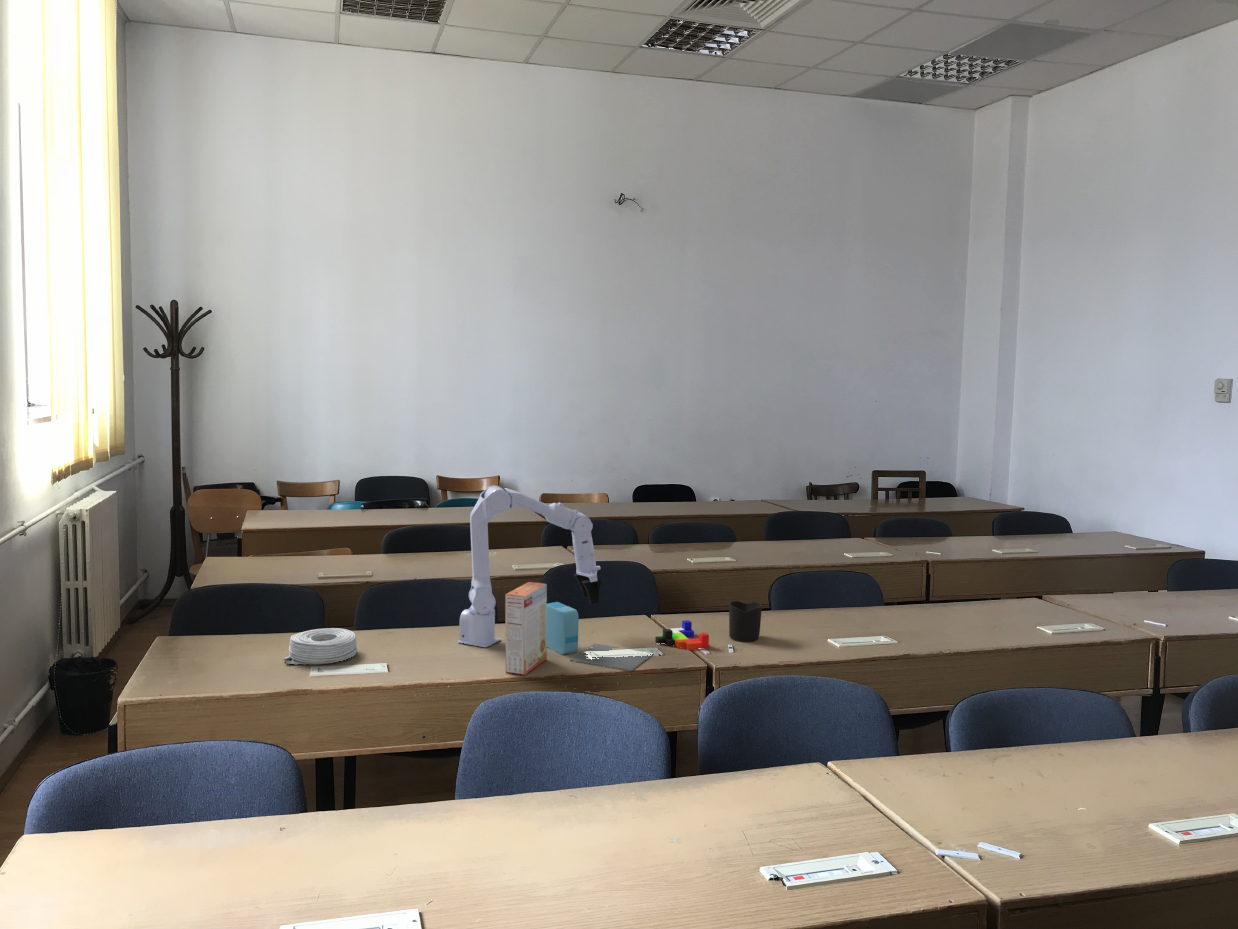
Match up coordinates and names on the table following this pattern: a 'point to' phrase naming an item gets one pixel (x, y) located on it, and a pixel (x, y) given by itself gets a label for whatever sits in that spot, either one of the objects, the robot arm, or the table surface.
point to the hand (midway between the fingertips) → (591, 599)
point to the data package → (562, 628)
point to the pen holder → (744, 621)
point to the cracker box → (526, 627)
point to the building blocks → (683, 637)
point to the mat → (610, 658)
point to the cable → (322, 646)
